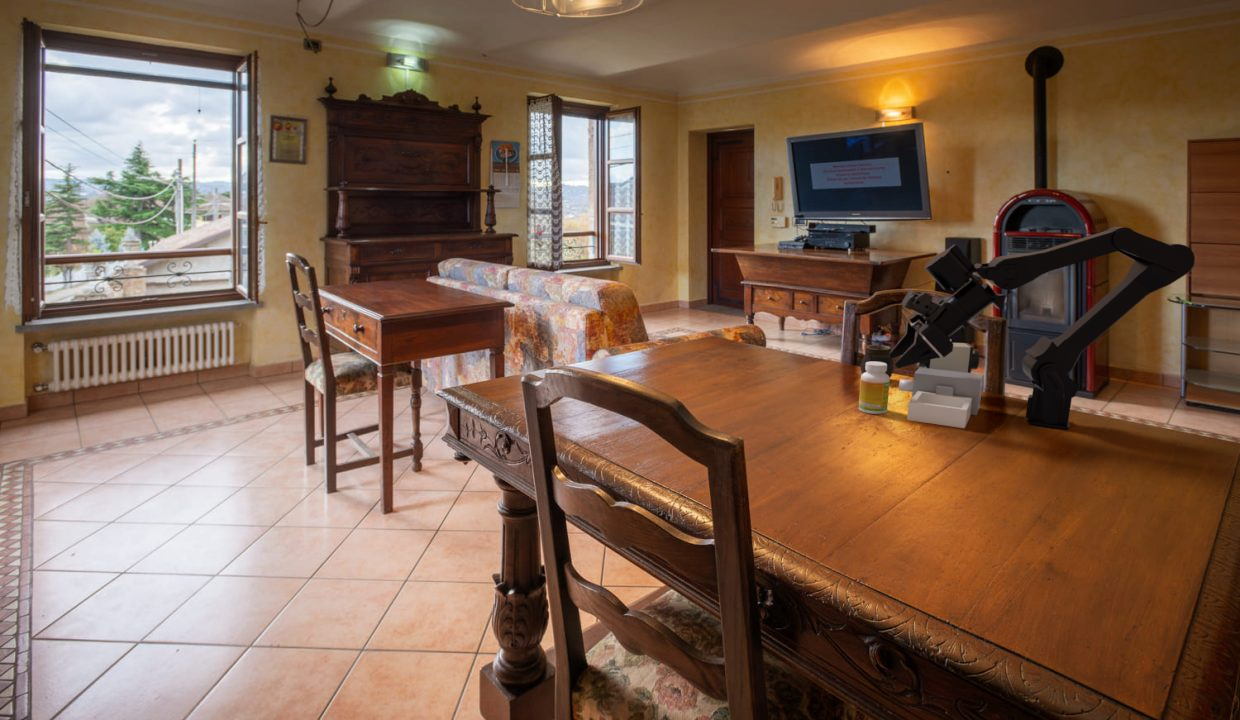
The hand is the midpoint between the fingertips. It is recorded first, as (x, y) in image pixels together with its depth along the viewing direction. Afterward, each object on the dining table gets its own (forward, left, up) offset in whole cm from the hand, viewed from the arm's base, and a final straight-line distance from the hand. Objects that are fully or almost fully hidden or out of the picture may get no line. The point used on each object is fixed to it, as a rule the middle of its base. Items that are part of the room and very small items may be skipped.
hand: (893, 361), depth 137 cm
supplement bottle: (+3, +1, -10) cm, 11 cm away
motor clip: (-8, -4, -10) cm, 14 cm away
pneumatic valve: (-7, -22, -10) cm, 26 cm away
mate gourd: (+8, -26, -11) cm, 29 cm away
